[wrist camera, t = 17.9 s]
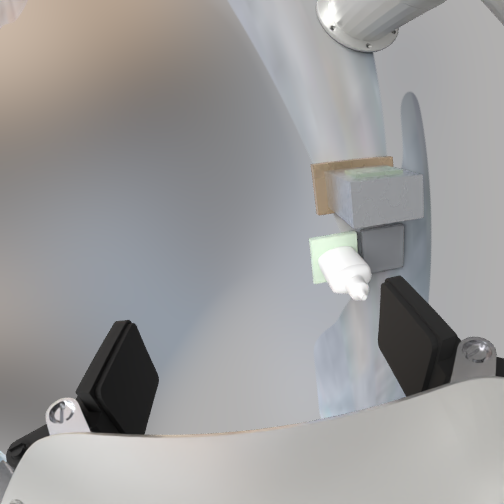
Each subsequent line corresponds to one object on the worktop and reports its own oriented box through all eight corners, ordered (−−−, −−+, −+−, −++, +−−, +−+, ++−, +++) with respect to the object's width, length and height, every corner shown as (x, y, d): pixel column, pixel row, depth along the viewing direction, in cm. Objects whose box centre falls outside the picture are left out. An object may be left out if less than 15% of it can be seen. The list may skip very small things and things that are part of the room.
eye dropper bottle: (321, 241, 43) (347, 277, 32) (356, 246, 43) (390, 282, 32) (314, 269, 44) (336, 312, 33) (349, 273, 45) (378, 315, 34)
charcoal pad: (360, 229, 44) (362, 231, 43) (400, 223, 43) (403, 225, 42) (361, 272, 46) (364, 274, 45) (400, 264, 46) (402, 266, 45)
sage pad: (309, 238, 44) (310, 240, 43) (354, 230, 44) (356, 232, 43) (313, 281, 46) (314, 284, 45) (356, 273, 46) (358, 275, 45)
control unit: (310, 164, 40) (335, 174, 29) (388, 156, 40) (432, 165, 29) (316, 213, 42) (341, 240, 32) (391, 202, 42) (433, 224, 31)
